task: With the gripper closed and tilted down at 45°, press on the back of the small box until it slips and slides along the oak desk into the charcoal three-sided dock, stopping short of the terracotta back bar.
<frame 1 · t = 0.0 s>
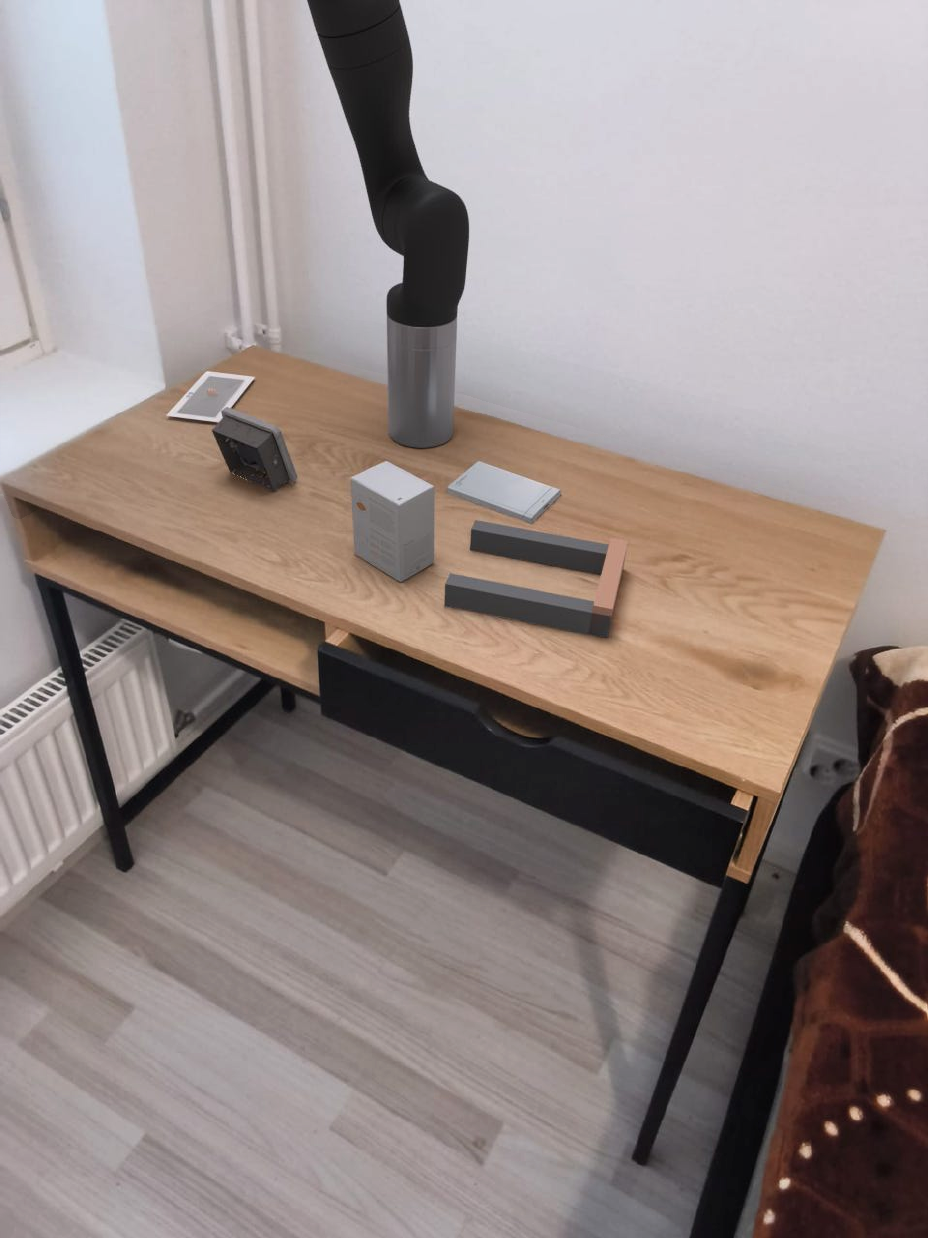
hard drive: (503, 498, 119), on the table
electrical switch: (259, 481, 119), on the table
dock: (545, 588, 104), on the table
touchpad: (213, 403, 136), on the table
small box: (393, 560, 107), on the table
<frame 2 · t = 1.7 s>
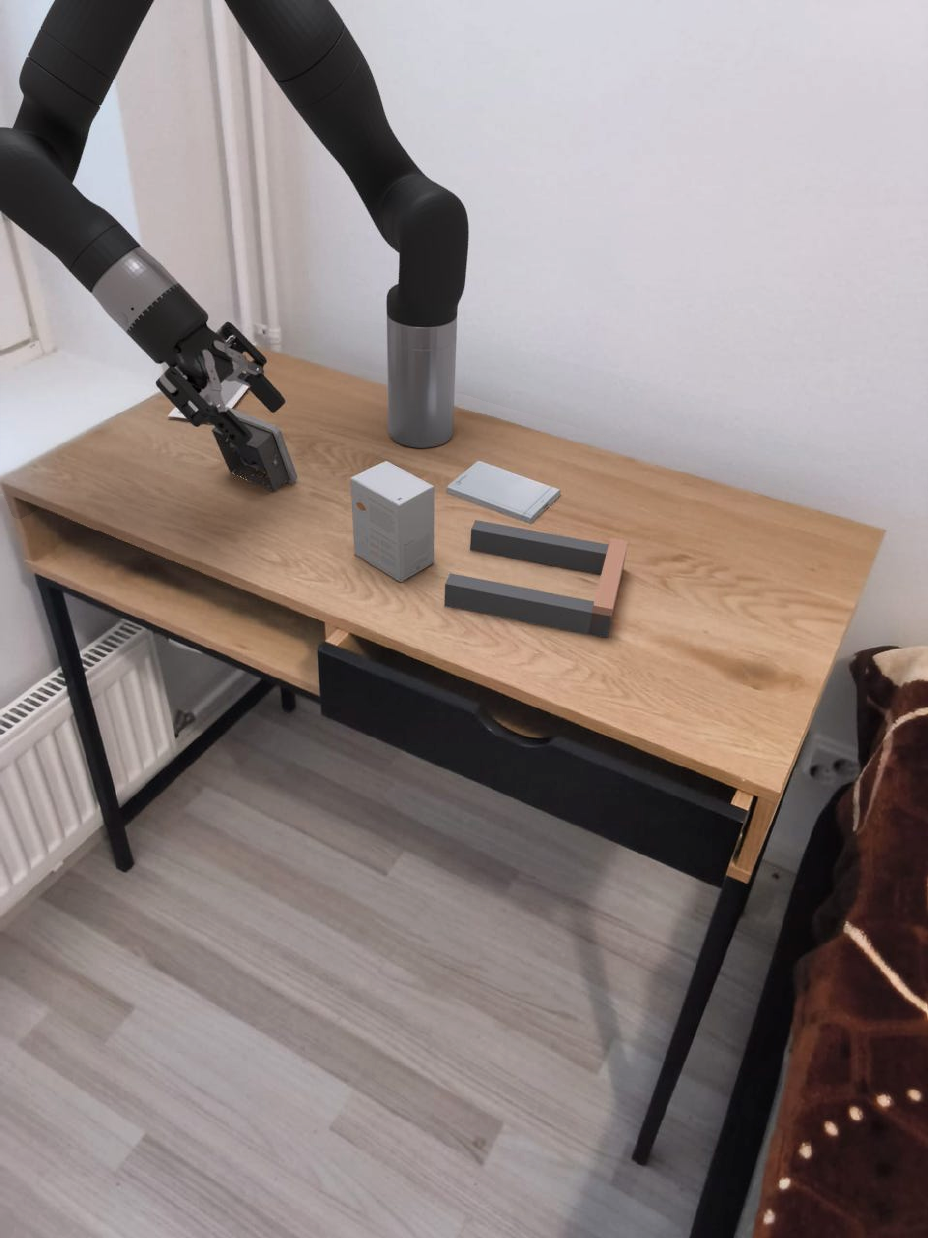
hand: (264, 424, 100), 15 cm above the table, tool tilted 45°, fingers open, 8 cm apart
nothing on the table moved.
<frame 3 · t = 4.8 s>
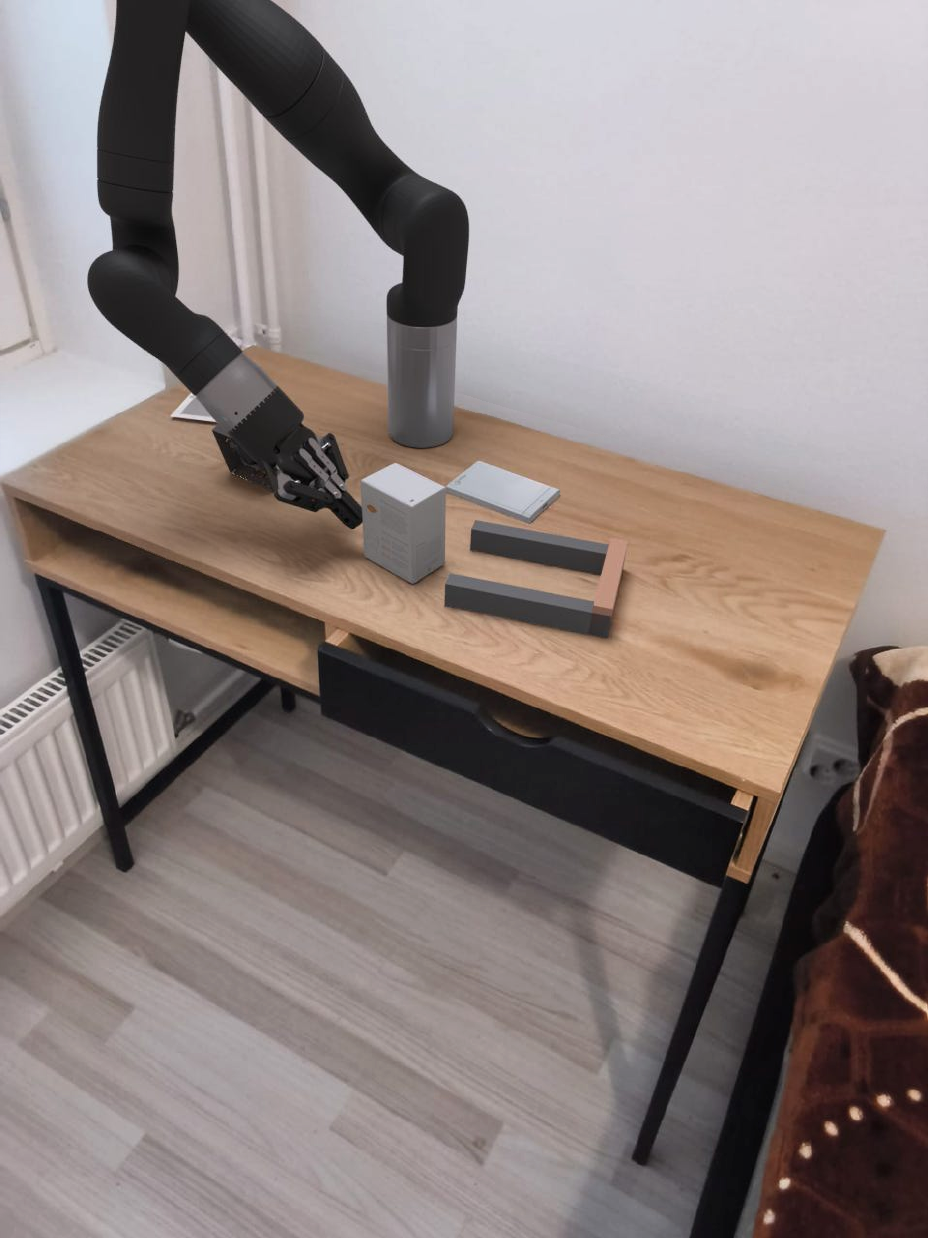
hand: (359, 522, 105), 4 cm above the table, tool tilted 45°, fingers closed
small box: (404, 562, 107), on the table, touching gripper
everything else where it was.
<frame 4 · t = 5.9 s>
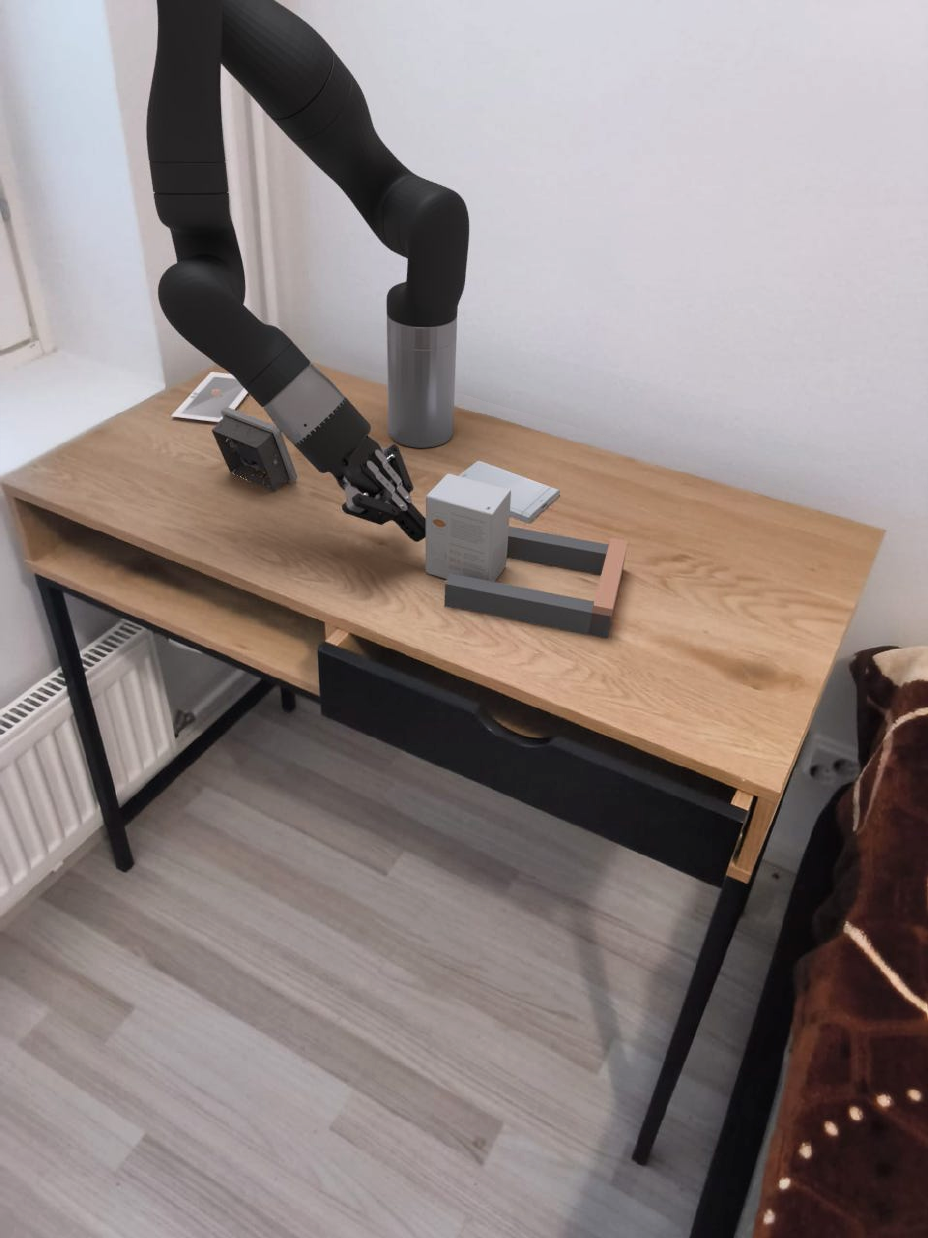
hand: (424, 535, 103), 4 cm above the table, tool tilted 45°, fingers closed
small box: (465, 571, 106), on the table, touching gripper
everything else where it was.
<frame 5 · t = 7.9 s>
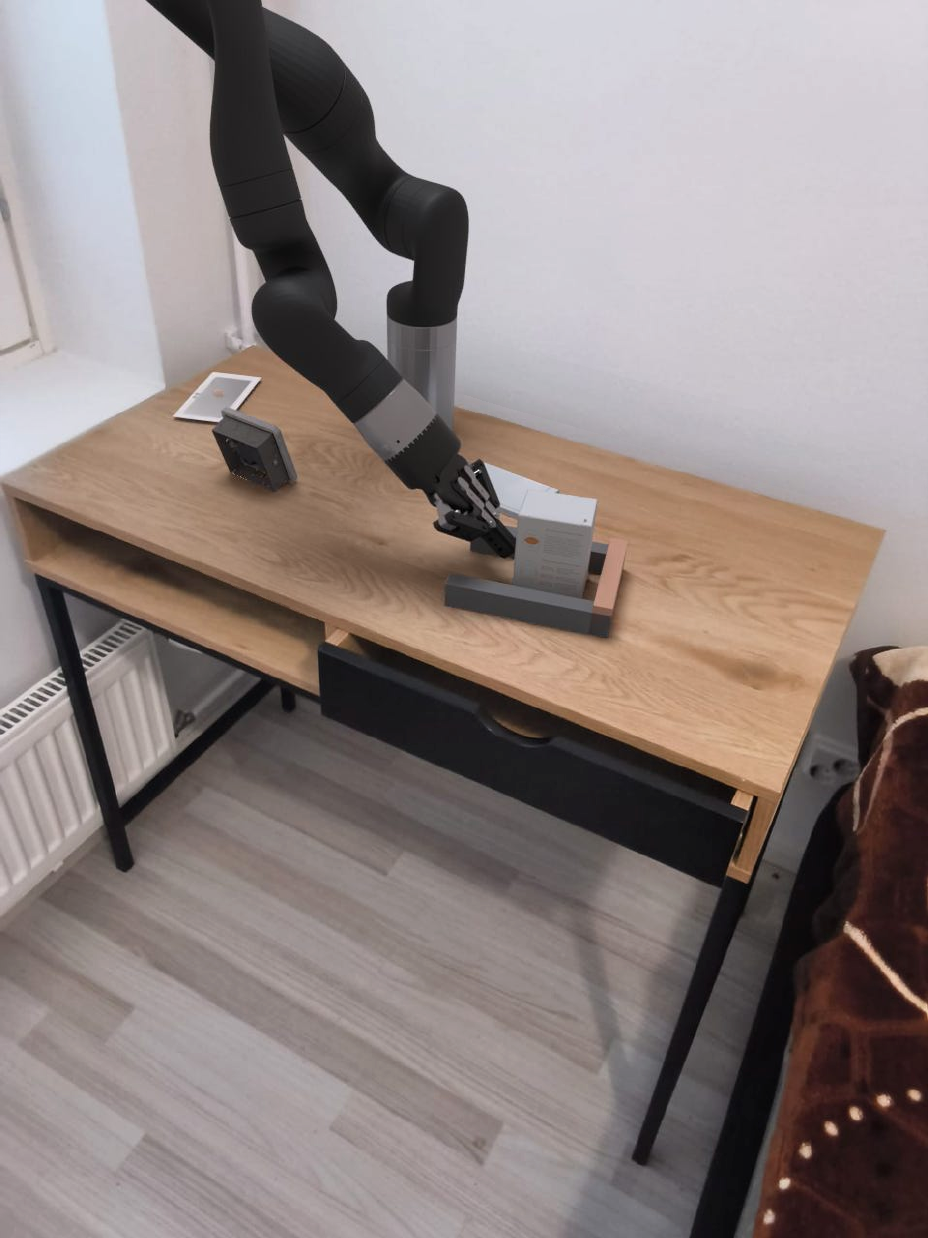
hand: (511, 551, 101), 4 cm above the table, tool tilted 45°, fingers closed
small box: (549, 585, 104), on the table, touching gripper
everything else where it was.
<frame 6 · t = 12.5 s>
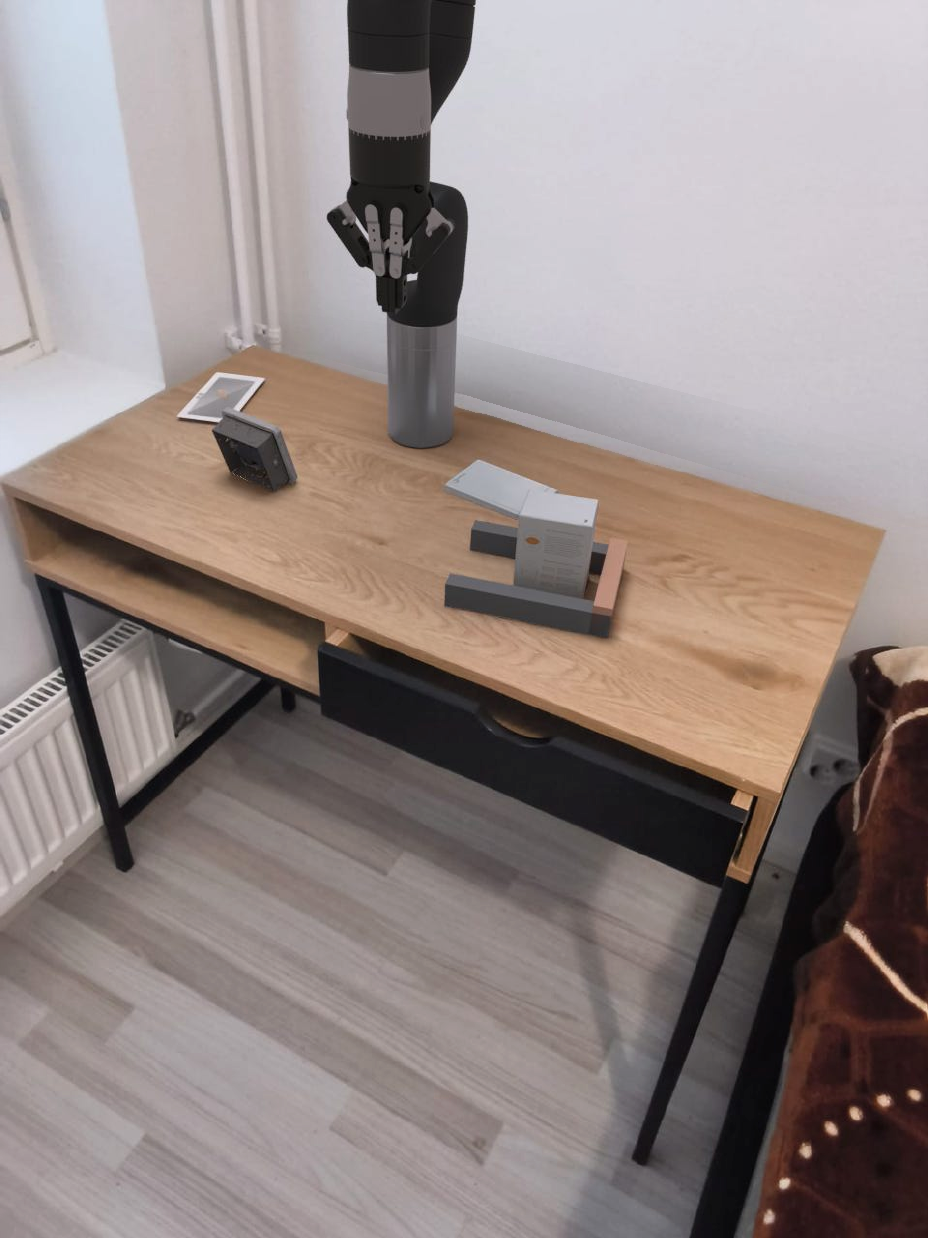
hand: (391, 310, 94), 27 cm above the table, tool pointing down, fingers closed
small box: (550, 586, 104), on the table
at the end: small box 0.9 cm from the target spot, on the table; small box tilted 0°; small box moved 18.5 cm from its start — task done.
